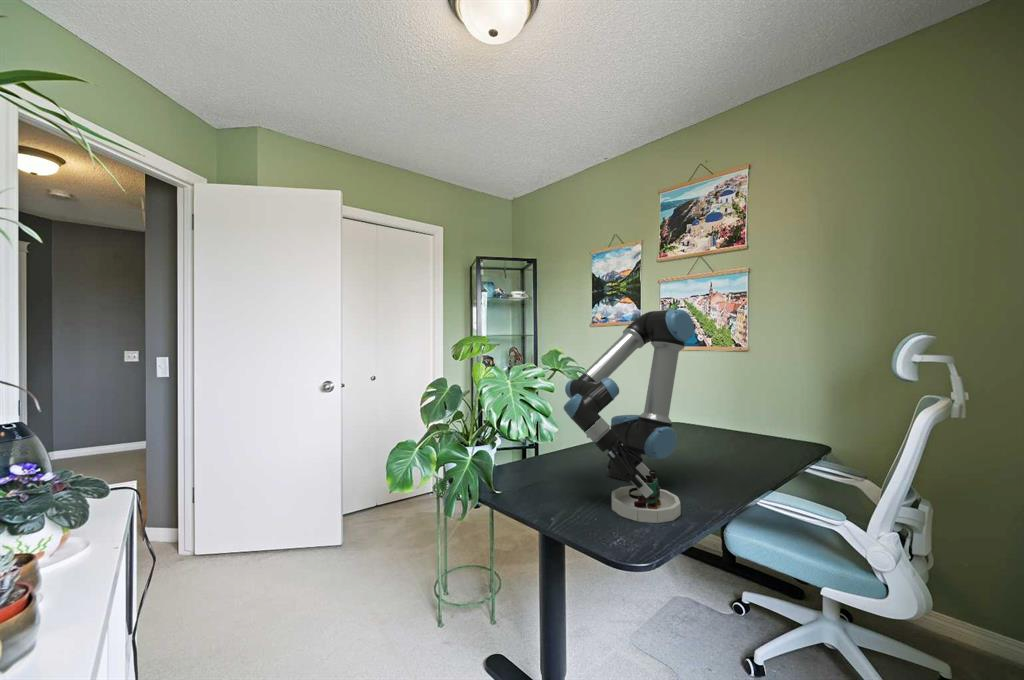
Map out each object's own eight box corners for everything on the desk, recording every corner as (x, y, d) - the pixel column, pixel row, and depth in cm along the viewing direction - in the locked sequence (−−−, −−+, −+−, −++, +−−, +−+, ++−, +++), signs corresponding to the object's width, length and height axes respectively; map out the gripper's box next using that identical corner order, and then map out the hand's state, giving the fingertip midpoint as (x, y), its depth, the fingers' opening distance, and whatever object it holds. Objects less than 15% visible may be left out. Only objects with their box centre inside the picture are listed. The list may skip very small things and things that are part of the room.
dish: (599, 509, 131) (599, 498, 131) (630, 491, 145) (630, 481, 145) (662, 529, 117) (662, 516, 117) (689, 507, 132) (689, 496, 132)
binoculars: (630, 467, 138) (661, 469, 133) (634, 500, 137) (665, 502, 132) (622, 475, 130) (655, 477, 125) (626, 509, 130) (659, 513, 125)
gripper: (602, 434, 149) (646, 482, 143) (585, 452, 126) (638, 510, 120) (617, 420, 147) (663, 468, 141) (603, 436, 124) (657, 494, 118)
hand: (651, 487), depth 130 cm, fingers open, 13 cm apart
